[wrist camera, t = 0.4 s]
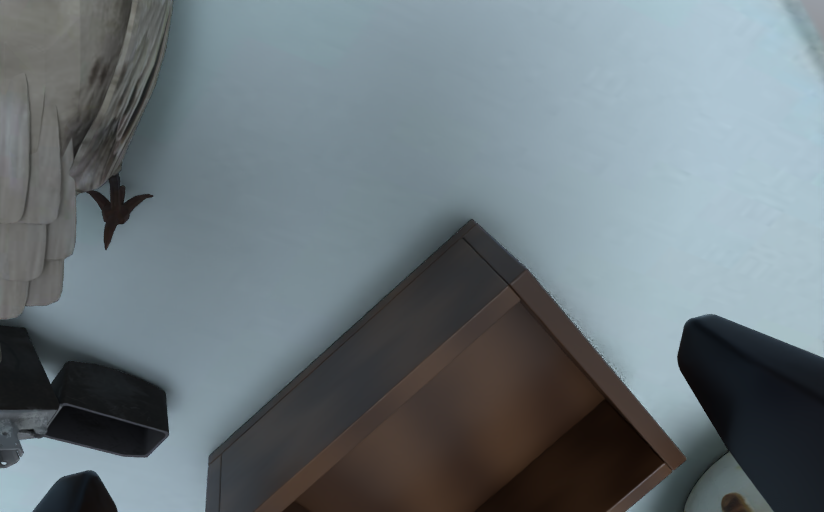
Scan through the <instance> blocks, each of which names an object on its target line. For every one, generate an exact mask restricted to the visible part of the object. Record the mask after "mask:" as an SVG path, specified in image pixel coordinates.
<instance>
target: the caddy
mask: <svg viewBox="0 0 824 512" xmlns="http://www.w3.org/2000/svg"><path fill="white" fill-rule="evenodd" d="M686 460H687V458H686V457H685V455H684V454H683V453H682V452H681V451H680V449H679V448H678V447H677V446H676V445H675V443H674V442H673V441H672V440H671V439H670V438H669V436H668V435H667V434H666V433H665V432H664V430H663V429H662V428H661V427H660V426H659V424H658V423H657V422H656V421H655V420H654V419H653V417H652V416H651V415H650V414H649V413H648V411H647V410H646V409H645V408H644V407H643V405H642V404H641V403H640V402H639V401H638V400H637V398H636V397H635V396H634V395H633V394H632V392H631V391H630V390H629V389H628V388H627V386H626V385H625V384H624V383H623V382H622V381H621V379H620V378H619V377H618V376H617V375H616V373H615V372H614V371H613V370H612V369H611V367H610V366H609V365H608V364H607V363H606V361H605V360H604V359H603V358H602V357H601V356H600V354H599V353H598V352H597V351H596V350H595V348H594V347H593V346H592V345H591V344H590V342H589V341H588V340H587V339H586V338H585V337H584V335H583V334H582V333H581V332H580V331H579V329H578V328H577V327H576V326H575V325H574V323H573V322H572V321H571V320H570V319H569V318H568V316H567V315H566V314H565V313H564V312H563V310H562V309H561V308H560V307H559V306H558V304H557V303H556V302H555V301H554V300H553V299H552V297H551V296H550V295H549V294H548V293H547V291H546V290H545V289H544V288H543V287H542V285H541V284H540V283H539V282H538V281H537V280H536V278H535V277H534V276H533V275H532V274H531V272H530V271H529V270H528V269H527V268H526V267H525V266H524V265H523V264H522V263H520V262H519V261H518V260H517V259H516V258H515V257H514V256H513V255H512V254H510V253H509V252H508V251H507V250H506V249H505V248H504V247H503V246H502V245H501V244H499V243H498V242H497V241H496V240H495V239H494V238H493V237H492V236H491V235H489V234H488V233H487V232H486V231H485V230H484V229H483V228H482V227H481V226H479V225H478V224H477V223H476V222H475V221H474V220H470V221H469V222H468V223H467V224H466V225H465V226H464V227H462V228H461V229H460V230H459V231H458V232H457V233H456V234H455V235H454V236H452V237H451V238H450V239H449V240H448V241H447V242H446V243H445V244H444V245H442V246H441V247H440V248H439V249H438V250H437V251H436V252H435V253H434V254H433V255H431V256H430V257H429V258H428V259H427V260H426V261H425V262H424V263H423V264H421V265H420V266H419V267H418V268H417V269H416V270H415V271H414V272H413V273H411V274H410V275H409V276H408V277H407V278H406V279H405V280H404V281H403V282H402V283H400V284H399V285H398V286H397V287H396V288H395V289H394V290H393V291H392V292H390V293H389V294H388V295H387V296H386V297H385V298H384V299H383V300H382V301H380V302H379V303H378V304H377V305H376V306H375V307H374V308H373V309H372V310H371V311H369V312H368V313H367V314H366V315H365V316H364V317H363V318H362V319H361V320H359V321H358V322H357V323H356V324H355V325H354V326H353V327H352V328H351V329H349V330H348V331H347V332H346V333H345V334H344V335H343V336H342V337H341V338H340V339H338V340H337V341H336V342H335V343H334V344H333V345H332V346H331V347H330V348H328V349H327V350H326V351H325V352H324V353H323V354H322V355H321V356H320V357H318V358H317V359H316V360H315V361H314V362H313V363H312V364H311V365H310V366H309V367H307V368H306V369H305V370H304V371H303V372H302V373H301V374H300V375H299V376H297V377H296V378H295V379H294V380H293V381H292V382H291V383H290V384H289V385H287V386H286V387H285V388H284V389H283V390H282V391H281V392H280V393H279V394H277V395H276V396H275V397H274V398H273V399H272V400H271V401H270V402H269V403H268V404H266V405H265V406H264V407H263V408H262V409H261V410H260V411H259V412H258V413H256V414H255V415H254V416H253V417H252V418H251V419H250V420H249V421H248V422H246V423H245V424H244V425H243V426H242V427H241V428H240V429H239V430H238V431H237V432H235V433H234V434H233V435H232V436H231V437H230V438H229V439H228V440H227V441H225V442H224V443H223V444H222V445H221V446H220V447H219V448H218V449H217V450H215V451H214V452H213V453H212V454H211V455H210V456H209V459H208V466H209V467H208V475H207V492H206V508H205V512H626V511H627V510H628V509H629V508H630V507H631V506H633V505H634V504H635V503H636V502H637V501H639V500H640V499H641V498H642V497H643V496H645V495H646V494H647V493H648V492H649V491H650V490H652V489H653V488H654V487H655V486H656V485H658V484H659V483H660V482H661V481H662V480H664V479H665V478H666V477H667V476H668V475H669V474H671V473H672V470H675V469H676V468H678V467H679V466H680V465H681V464H682V463H683V462H685V461H686Z"/></svg>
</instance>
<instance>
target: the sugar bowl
mask: <svg viewBox="0 0 824 512" xmlns="http://www.w3.org/2000/svg"><path fill="white" fill-rule="evenodd" d="M684 512H773V510H772V509H771V508H770V506H769V505H768V503H767V502H766V501H765V499H764V498H763V497H762V495H761V494H760V493H759V491H758V490H757V489H756V487H755V486H754V485H753V483H752V482H751V481H750V479H749V478H748V477H747V475H746V474H745V473H744V471H743V470H742V469H741V467H740V466H739V464H738V463H737V462H736V460H735V459H734V457H733V456H732V454H731V453H730V452H728V453H727V454H725V455H724V456H723V457H722V458H720V459H719V460H718V461H717V462H716V463H714V464H713V465H712V466H711V467H710V468H709V469H708V470H707V471H706V472H705V473H704V474H703V476H702V477H701V478H700V479H699V481H698V482H697V483H696V484H695V486H694V487H693V489H692V491H691V493H690V495H689V497H688V499H687V501H686V505H685V508H684Z"/></svg>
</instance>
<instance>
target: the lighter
mask: <svg viewBox="0 0 824 512" xmlns="http://www.w3.org/2000/svg"><path fill="white" fill-rule="evenodd" d="M168 436H169V427H168V416H167V404H166V394H165V392H164V391H163V390H161V389H159V388H157V387H156V386H154V385H152V384H150V383H148V382H146V381H144V380H142V379H139V378H137V377H134V376H131V375H129V374H126V373H124V372H121V371H118V370H114V369H111V368H107V367H104V366H100V365H97V364H91V363H84V362H77V361H68V362H66V363H65V365H64V366H63V368H62V369H61V370H60V372H59V373H58V375H57V376H56V378H55V379H54V380H53V382H52V383H51V384H50V382H49V379H48V377H47V375H46V373H45V371H44V368H43V366H42V364H41V362H40V359H39V357H38V355H37V353H36V351H35V348H34V346H33V344H32V342H31V340H30V337H29V335H28V333H27V331H26V329H25V328H19V327H11V326H2V325H0V468H7V467H9V466H11V465H13V464H15V463H17V462H18V461H19V459H20V458H19V456H20V457H21V456H22V455H23V453H24V452H23V449H22V447H21V444H20V441H19V440H22V439H31V438H42V437H47V438H51V439H55V440H59V441H63V442H67V443H71V444H75V445H79V446H83V447H87V448H91V449H95V450H99V451H103V452H107V453H111V454H115V455H119V456H125V457H144V458H145V457H148V456H149V455H150V454H151V453H152V452H153V451H154V450H155V449H156V448H157V447H158V446H159V445H160V444H161V443H162V442H163V441H164V440H165V439H166V438H167V437H168ZM17 451H18V452H17ZM18 454H19V455H18ZM1 462H6V463H7V464H6V465H3V464H1Z"/></svg>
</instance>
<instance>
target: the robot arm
mask: <svg viewBox="0 0 824 512" xmlns="http://www.w3.org/2000/svg"><path fill="white" fill-rule="evenodd" d="M677 359H678V365H679V368H680V371H681V373H682V374H683V376H684V378H685V379H686V381H687V383H688V384H689V386H690V388H691V389H692V391H693V393H694V394H695V396H696V398H697V399H698V401H699V403H700V404H701V406H702V408H703V409H704V411H705V413H706V414H707V416H708V418H709V419H710V421H711V423H712V424H713V426H714V428H715V429H716V431H717V433H718V434H719V436H720V438H721V439H722V441H723V442H724V444H725V445H726V447H727V449H728V450H729V452H730V453H731V454H732V456H733V457H734V459H735V460H736V462H737V463H738V464H739V466H740V467H741V469H742V470H743V471H744V473H745V474H746V475H747V477H748V478H749V479H750V481H751V482H752V483H753V485H754V486H755V487H756V489H757V490H758V491H759V493H760V494H761V495H762V497H763V498H764V499H765V501H766V502H767V503H768V505H769V506H770V508H771V509H772V510H773V512H824V358H823V357H820V356H818V355H815V354H813V353H810V352H808V351H805V350H803V349H800V348H798V347H795V346H793V345H790V344H788V343H785V342H783V341H780V340H778V339H775V338H772V337H770V336H767V335H765V334H762V333H760V332H757V331H755V330H752V329H750V328H747V327H745V326H742V325H740V324H737V323H735V322H732V321H730V320H727V319H725V318H722V317H720V316H717V315H713V314H707V315H703V316H699V317H695V318H691V319H689V320H688V321H687V322H686V323H685V325H684V329H683V333H682V338H681V342H680V347H679V351H678V356H677ZM33 512H118V511H117V508H116V505H115V503H114V501H113V500H112V498H111V496H110V494H109V493H108V491H107V489H106V488H105V486H104V484H103V482H102V481H101V479H100V477H99V476H98V474H97V473H96V472H94V471H92V470H90V471H89V470H87V471H84V472H80V473H76V474H72V475H68V476H64V477H62V478H60V479H59V480H58V481H57V482H56V483H55V484H54V485H53V486H52V488H51V489H50V490H49V491H48V493H47V494H46V495H45V496H44V498H43V499H42V500H41V501H40V503H39V504H38V505H37V507H36V508H35V509H34V510H33Z"/></svg>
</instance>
